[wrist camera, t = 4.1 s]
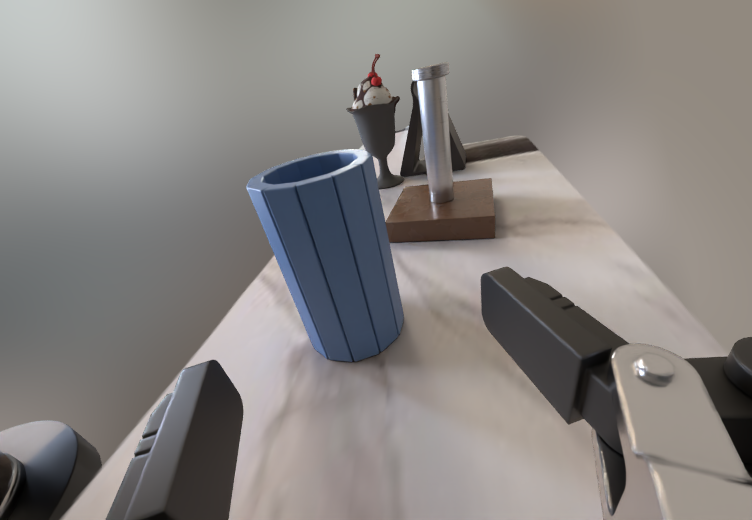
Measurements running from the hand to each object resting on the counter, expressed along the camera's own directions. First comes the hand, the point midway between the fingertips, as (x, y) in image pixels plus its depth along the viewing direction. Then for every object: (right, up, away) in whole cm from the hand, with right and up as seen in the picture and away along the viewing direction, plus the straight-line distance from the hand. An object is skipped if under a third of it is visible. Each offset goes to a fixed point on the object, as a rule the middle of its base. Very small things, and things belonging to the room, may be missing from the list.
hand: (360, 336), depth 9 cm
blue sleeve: (-1, -2, +10) cm, 10 cm away
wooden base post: (+7, +6, +21) cm, 23 cm away
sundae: (+2, +13, +34) cm, 37 cm away
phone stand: (+9, +16, +36) cm, 41 cm away
